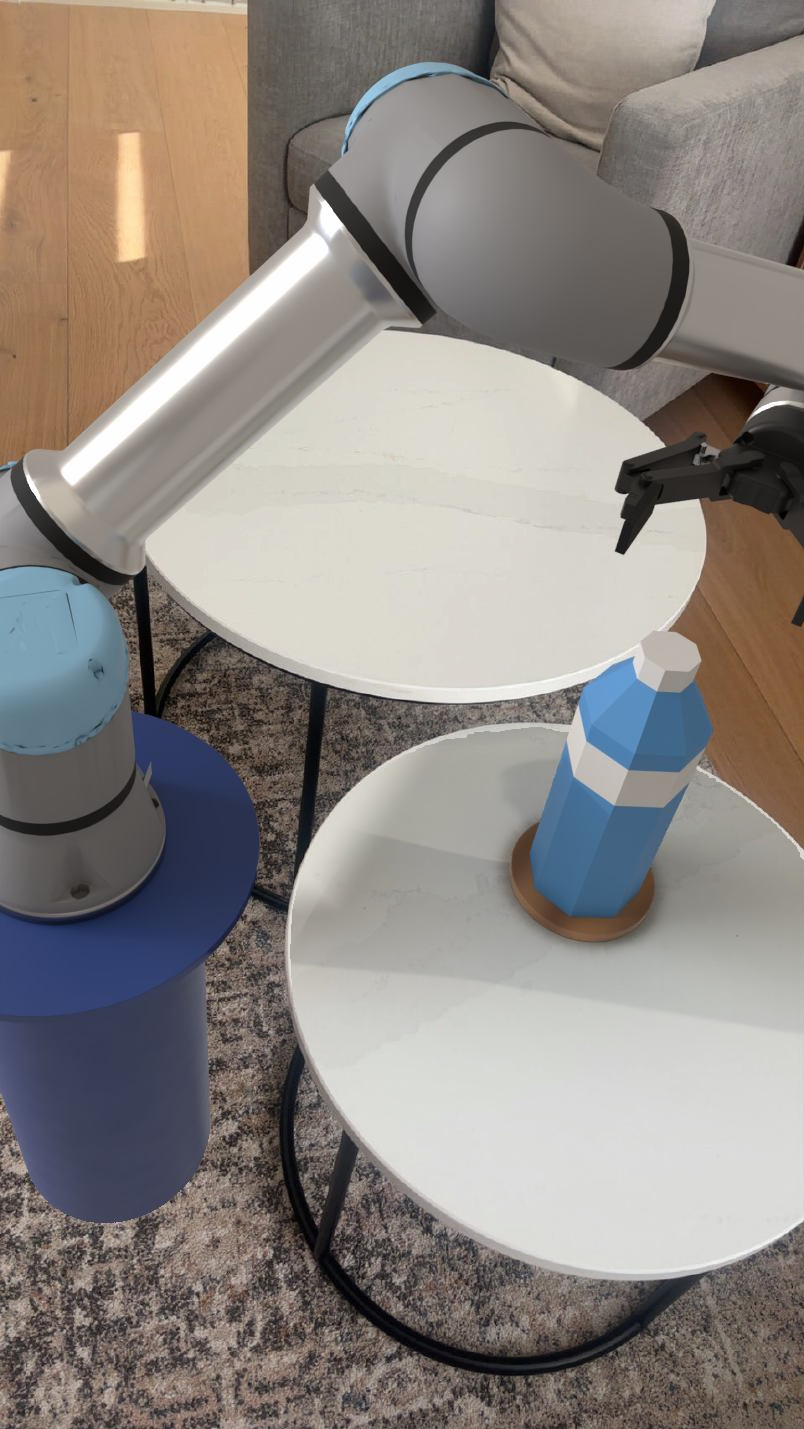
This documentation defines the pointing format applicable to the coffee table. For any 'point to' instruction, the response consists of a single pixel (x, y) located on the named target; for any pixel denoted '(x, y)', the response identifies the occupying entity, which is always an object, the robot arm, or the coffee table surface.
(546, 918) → the coaster
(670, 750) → the water bottle
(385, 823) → the coffee table surface
